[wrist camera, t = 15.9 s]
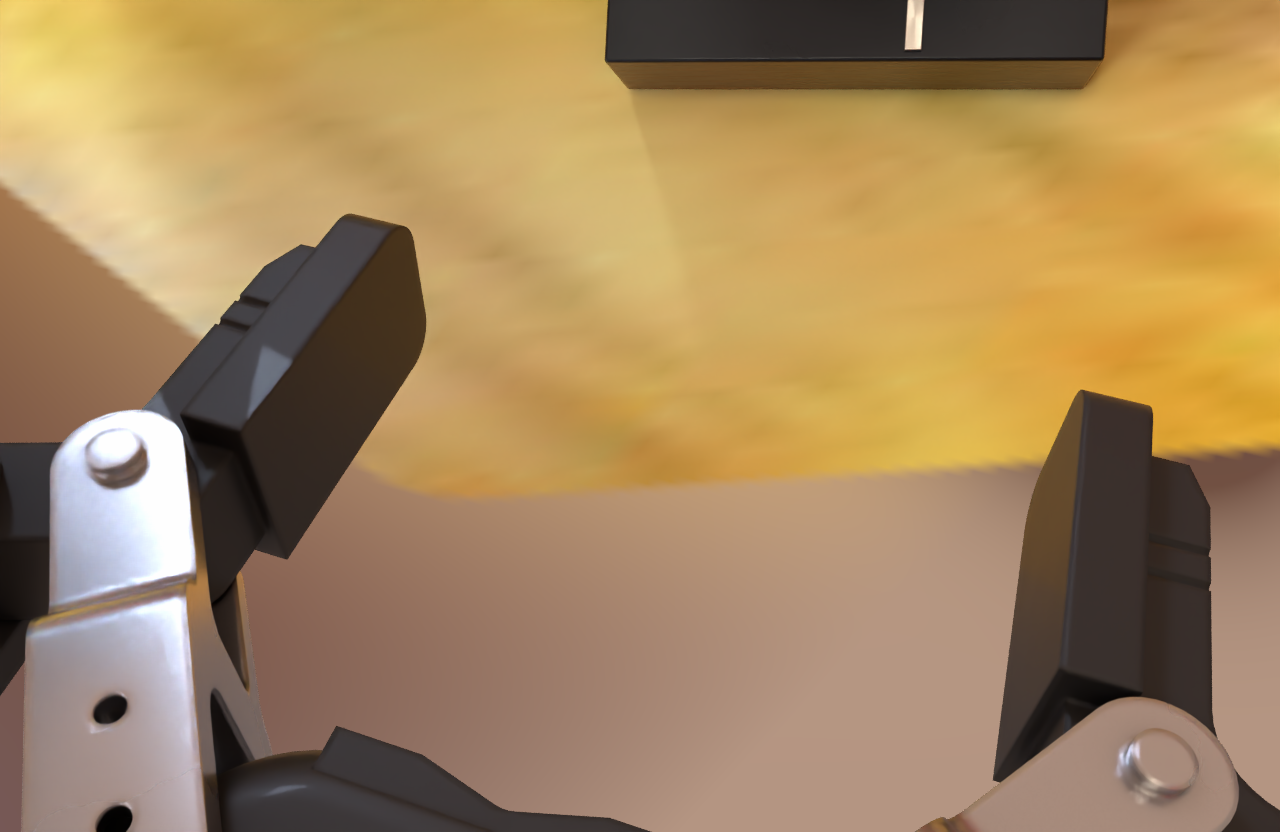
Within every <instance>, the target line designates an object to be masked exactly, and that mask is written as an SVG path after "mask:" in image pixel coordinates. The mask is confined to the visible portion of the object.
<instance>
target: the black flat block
mask: <svg viewBox="0 0 1280 832" xmlns="http://www.w3.org/2000/svg"><path fill="white" fill-rule="evenodd" d="M1107 11H1108V0H608V8H607V27H606V46H605V61H606V63H607V64H608V65H609V66H610V68H611V69H612V70H613V71H614V72H615V74H616V75H617V76H618V77H619V78H620V79H621V81H622V82H623V83H624V84H625V85H626V87H627V88H629V89H1083V88H1084V87H1085V85H1086V84H1087V83H1088V81H1089V80H1090V78H1091V77H1092V75H1093V74H1094V72H1095V71H1096V69H1097V68H1098V66H1099V65H1100V64H1101V62H1102V61H1103V59H1104V54H1105V40H1106V25H1107Z"/></svg>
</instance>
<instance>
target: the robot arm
mask: <svg viewBox="0 0 1280 832" xmlns="http://www.w3.org/2000/svg"><path fill="white" fill-rule="evenodd" d="M220 319H221V321H220V324H219V325H218V324H215V325H214V326H213V327H212V328H211V330H210V331H209V332H208V333H207V334H206V335H205V337H204V338H203V339H202V340H201V341H200V342H199V344H198V345H197V346H196V347H195V348H194V349H193V351H192V352H191V353H190V354H189V355H188V357H187V358H186V359H185V360H184V361H183V362H182V364H181V365H180V366H179V367H178V368H177V369H176V371H175V372H174V373H173V374H172V375H171V376H170V378H169V379H168V380H167V381H166V382H165V383H164V385H163V386H162V387H161V388H160V389H159V391H158V392H157V393H156V394H155V395H154V396H153V398H152V399H151V400H150V401H149V402H148V403H147V404H146V405H145V406H144V408H143V409H142V410H127V411H121V412H115V413H111V414H107V415H104V416H101V417H99V418H97V419H94V420H92V421H90V422H88V423H86V424H84V425H83V426H81V427H80V428H78V429H77V430H76V431H74V432H73V433H72V434H71V435H70V436H69V437H67V438H66V440H65V441H64V442H61V443H60V442H59V443H0V695H1V694H2V693H3V691H4V690H5V688H6V687H7V686H8V684H9V683H10V681H11V680H12V679H13V677H14V676H15V674H16V673H17V672H18V670H19V669H20V667H21V666H22V665H23V663H24V662H25V691H24V737H23V738H24V739H23V786H22V789H23V791H22V832H650V831H647V830H644V829H641V828H638V827H635V826H632V825H629V824H626V823H623V822H620V821H617V820H614V819H611V818H601V817H587V816H572V815H557V814H542V813H527V812H514V811H508V810H505V809H502V808H500V807H498V806H496V805H494V804H493V803H492V802H490V801H489V800H487V799H485V798H484V797H483V796H481V795H480V794H478V793H477V792H476V791H474V790H473V789H471V788H470V787H468V786H467V785H465V784H464V783H463V782H461V781H459V780H458V779H457V778H455V777H454V776H452V775H451V774H450V773H448V772H447V771H445V770H444V769H442V768H441V767H439V766H438V765H436V764H435V763H434V762H432V761H431V760H429V759H427V758H426V757H425V756H423V755H421V754H418V753H415V752H412V751H409V750H407V749H404V748H400V747H397V746H395V745H391V744H389V743H385V742H382V741H380V740H377V739H374V738H371V737H368V736H365V735H362V734H359V733H356V732H353V731H350V730H347V729H344V728H341V727H338V726H336V727H335V729H334V731H333V733H332V735H331V736H330V738H329V740H328V742H327V744H326V746H325V747H324V749H323V750H309V751H297V752H296V751H295V752H288V753H283V754H277V755H273V754H272V750H271V746H270V742H269V738H268V735H267V732H266V728H265V725H264V722H263V717H262V713H261V708H260V703H259V695H258V687H257V680H256V673H255V665H254V656H253V649H252V642H251V634H250V626H249V618H248V610H247V603H246V595H245V587H244V581H243V577H242V574H241V571H240V570H241V568H242V567H243V565H244V564H245V562H246V561H247V560H248V558H249V557H250V555H251V554H252V552H253V551H254V550H258V551H261V552H264V553H268V554H270V555H274V556H277V557H280V558H284V559H288V558H289V556H290V555H291V553H292V551H293V550H294V548H295V547H296V545H297V544H298V542H299V541H300V539H301V538H302V536H303V534H304V533H305V531H306V530H307V529H308V527H309V526H310V524H311V523H312V521H313V519H314V518H315V516H316V515H317V513H318V512H319V510H320V509H321V507H322V506H323V504H324V503H325V501H326V500H327V498H328V497H329V495H330V494H331V492H332V491H333V489H334V488H335V486H336V485H337V483H338V481H339V480H340V478H341V477H342V475H343V474H344V472H345V471H346V469H347V468H348V466H349V465H350V463H351V462H352V460H353V459H354V457H355V456H356V454H357V453H358V451H359V450H360V448H361V446H362V445H363V443H364V442H365V440H366V439H367V437H368V436H369V434H370V433H371V431H372V430H373V428H374V427H375V425H376V424H377V422H378V421H379V419H380V418H381V416H382V414H383V413H384V411H385V410H386V408H387V407H388V405H389V404H390V402H391V401H392V399H393V398H394V396H395V395H396V393H397V392H398V390H399V389H400V387H401V386H402V384H403V383H404V381H405V379H406V378H407V376H408V375H409V373H410V372H411V370H412V369H413V367H414V366H415V364H416V362H417V360H418V358H419V356H420V353H421V350H422V347H423V343H424V339H425V333H426V314H425V307H424V301H423V295H422V289H421V283H420V277H419V271H418V264H417V258H416V252H415V246H414V240H413V236H412V234H411V232H410V230H409V229H408V228H407V227H405V226H401V225H397V224H393V223H388V222H384V221H380V220H376V219H372V218H367V217H363V216H359V215H355V214H346V215H344V216H343V217H341V218H340V219H339V220H338V221H337V222H336V223H335V225H334V226H333V227H332V228H331V229H330V231H329V232H328V233H327V234H326V235H325V237H324V238H323V239H322V240H321V242H320V243H319V244H318V245H317V246H316V248H314V247H310V246H306V245H302V244H301V245H299V246H298V247H296V248H294V249H293V250H291V251H289V252H288V253H286V254H284V255H283V256H281V257H279V258H278V259H276V260H274V261H273V262H271V263H269V264H268V265H266V266H264V268H263V269H262V270H261V271H260V272H259V273H258V275H257V276H256V277H255V278H254V279H253V280H252V282H251V283H250V284H249V285H248V286H247V287H246V289H245V290H244V291H243V292H242V293H241V294H240V300H239V301H234V303H233V304H232V305H231V306H230V307H229V309H228V310H227V311H226V312H225V313H224V314H223V316H222V317H221V318H220ZM1152 432H1153V412H1152V408H1151V407H1150V406H1148V405H1144V404H1140V403H1136V402H1131V401H1127V400H1123V399H1119V398H1115V397H1110V396H1106V395H1102V394H1098V393H1094V392H1089V391H1085V390H1080V391H1079V392H1078V393H1077V395H1076V396H1075V398H1074V400H1073V402H1072V405H1071V407H1070V409H1069V411H1068V413H1067V416H1066V418H1065V420H1064V422H1063V424H1062V427H1061V429H1060V431H1059V433H1058V435H1057V438H1056V440H1055V442H1054V444H1053V446H1052V449H1051V451H1050V453H1049V455H1048V457H1047V460H1046V462H1045V464H1044V466H1043V468H1042V471H1041V473H1040V475H1039V478H1038V480H1037V483H1036V486H1035V489H1034V492H1033V495H1032V499H1031V503H1030V506H1029V510H1028V515H1027V520H1026V525H1025V532H1024V540H1023V547H1022V555H1021V564H1020V571H1019V579H1018V587H1017V594H1016V603H1015V610H1014V618H1013V626H1012V635H1011V642H1010V649H1009V657H1008V665H1007V673H1006V681H1005V689H1004V696H1003V705H1002V712H1001V721H1000V728H999V736H998V744H997V751H996V759H995V767H994V775H993V780H994V781H997V782H1000V784H998V785H997V786H995V787H994V788H993V789H991V790H990V791H989V792H988V793H986V794H985V795H984V796H982V797H981V798H980V799H978V800H977V801H976V802H974V803H973V804H972V805H971V806H969V807H968V808H967V809H965V810H964V811H962V812H961V813H960V814H958V815H956V816H955V817H953V818H950V819H946V818H944V817H941V818H938V819H936V820H933V821H931V822H930V823H928V824H926V825H924V826H923V827H921V828H920V829H918V830H917V831H915V832H1280V810H1278V809H1277V808H1275V807H1274V806H1272V805H1271V804H1269V803H1268V802H1267V801H1265V800H1264V799H1263V798H1262V797H1261V796H1259V795H1258V794H1257V793H1256V792H1255V791H1254V790H1252V788H1251V787H1250V786H1248V784H1247V783H1246V782H1245V781H1244V780H1243V779H1242V778H1241V777H1240V776H1239V774H1238V773H1237V772H1236V770H1235V769H1234V766H1233V764H1232V761H1231V759H1230V757H1229V755H1228V753H1227V752H1226V750H1225V749H1224V747H1223V746H1222V744H1221V743H1220V741H1219V740H1218V738H1217V735H1216V732H1215V728H1214V724H1213V715H1212V650H1211V649H1212V648H1211V647H1212V645H1211V644H1212V643H1211V591H1209V586H1210V584H1211V558H1210V557H1209V552H1210V548H1211V547H1210V546H1211V537H1210V506H1209V504H1208V502H1207V500H1206V498H1205V496H1204V494H1203V492H1202V490H1201V488H1200V486H1199V484H1198V482H1197V480H1196V478H1195V476H1194V474H1193V472H1192V470H1191V468H1190V466H1189V465H1186V464H1182V463H1178V462H1174V461H1169V460H1166V459H1162V458H1158V457H1154V456H1152Z"/></svg>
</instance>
